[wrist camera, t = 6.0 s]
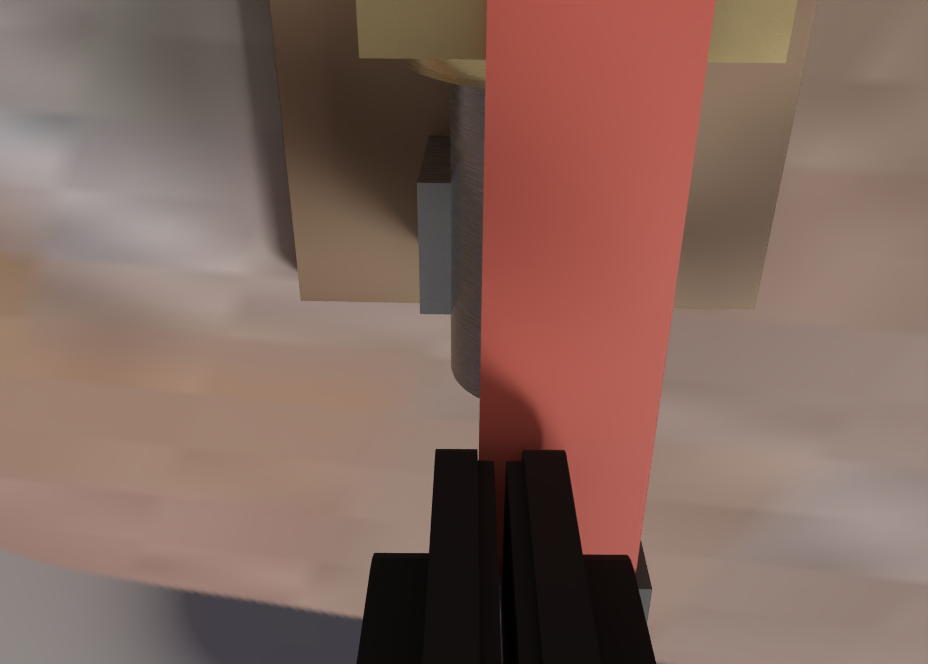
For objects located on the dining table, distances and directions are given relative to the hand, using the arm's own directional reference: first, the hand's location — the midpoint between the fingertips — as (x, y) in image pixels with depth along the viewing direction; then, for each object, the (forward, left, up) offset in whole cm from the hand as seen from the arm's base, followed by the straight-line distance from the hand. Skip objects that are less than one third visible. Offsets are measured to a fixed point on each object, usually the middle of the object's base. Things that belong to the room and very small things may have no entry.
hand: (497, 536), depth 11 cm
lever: (0, -2, -2) cm, 3 cm away
